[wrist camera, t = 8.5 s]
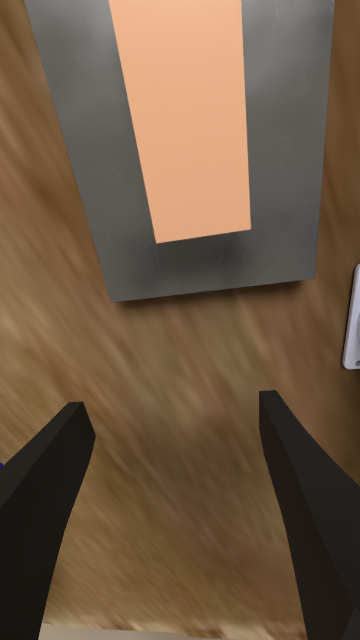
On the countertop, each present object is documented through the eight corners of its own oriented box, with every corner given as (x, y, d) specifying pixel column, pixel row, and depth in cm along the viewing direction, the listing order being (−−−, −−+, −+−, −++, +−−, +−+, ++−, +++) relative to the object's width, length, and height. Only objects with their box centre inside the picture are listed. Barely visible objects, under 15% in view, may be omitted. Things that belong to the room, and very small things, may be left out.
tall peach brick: (219, -40, 12) (233, -173, 7) (235, 210, 17) (250, 229, 12) (127, -16, 13) (83, -126, 8) (167, 220, 17) (156, 243, 12)
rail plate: (329, -244, 10) (357, -332, 8) (303, 267, 18) (314, 278, 16) (3, -139, 11) (-33, -195, 9) (119, 289, 20) (111, 302, 18)
